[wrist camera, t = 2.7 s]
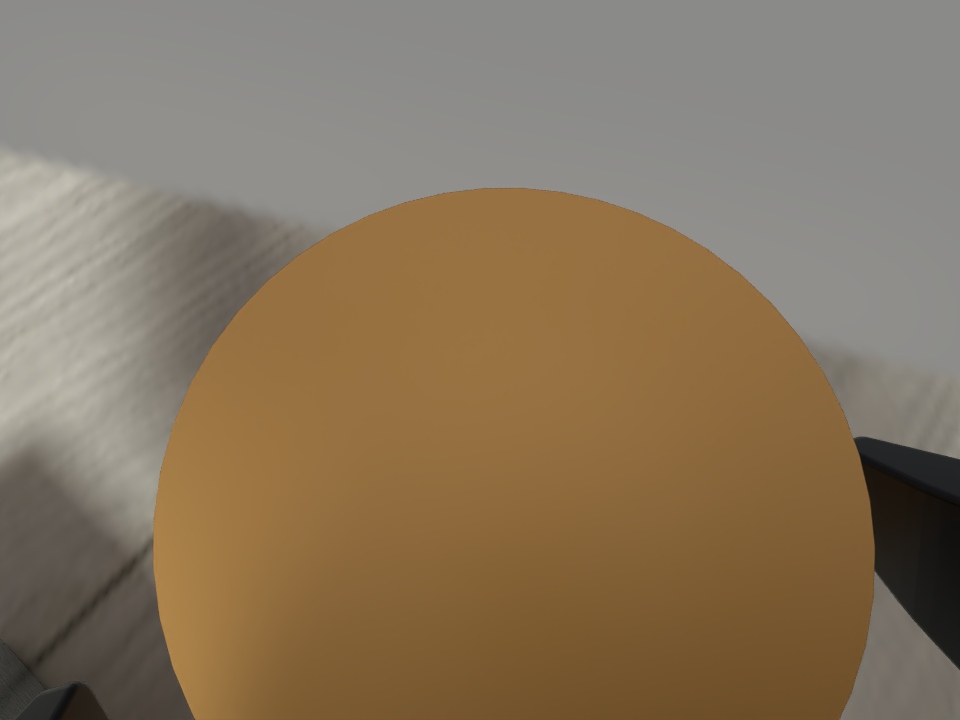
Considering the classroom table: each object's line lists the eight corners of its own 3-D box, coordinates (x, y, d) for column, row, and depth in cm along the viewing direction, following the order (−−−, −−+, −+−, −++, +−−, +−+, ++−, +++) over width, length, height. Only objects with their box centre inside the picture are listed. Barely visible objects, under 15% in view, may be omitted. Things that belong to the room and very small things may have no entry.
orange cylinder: (586, 590, 16) (995, 443, 4) (486, 727, 15) (592, 1164, 3) (465, 488, 17) (472, 92, 4) (361, 612, 15) (-3, 530, 3)
